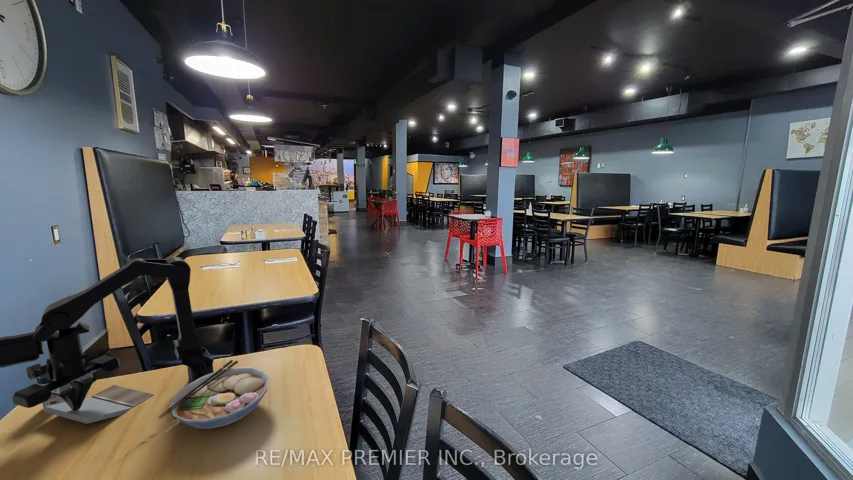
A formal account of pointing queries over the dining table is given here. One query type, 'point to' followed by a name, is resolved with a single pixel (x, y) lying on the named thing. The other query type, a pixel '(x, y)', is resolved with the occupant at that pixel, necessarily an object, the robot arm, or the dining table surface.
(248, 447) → the dining table surface
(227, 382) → the ramen bowl
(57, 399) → the grey can
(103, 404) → the grey tile
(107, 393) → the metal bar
